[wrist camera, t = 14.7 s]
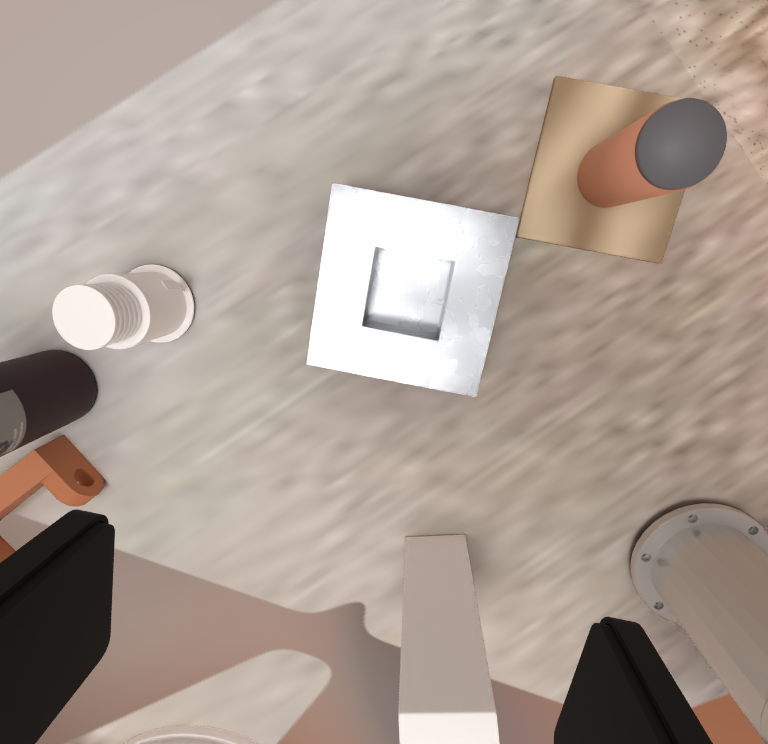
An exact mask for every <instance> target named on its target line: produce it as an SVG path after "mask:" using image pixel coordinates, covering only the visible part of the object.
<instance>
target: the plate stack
mask: <svg viewBox="0 0 768 744" xmlns="http://www.w3.org/2000/svg"><path fill="white" fill-rule="evenodd" d="M124 744H259V743H258V742H256V741H254V740H251V739H249V738H247V737H245V736H242V735H239V734H236V733H234V732H230V731H227V730H223V729H219V728H214V727H207V726H198V725H176V726H168V727H162V728H157V729H154V730H150V731H147V732H145V733H142V734H140V735H138V736H136V737H134V738H132V739H130V740H128V741H127V742H125V743H124Z"/></svg>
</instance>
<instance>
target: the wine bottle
mask: <svg viewBox="0 0 768 744" xmlns="http://www.w3.org/2000/svg"><path fill="white" fill-rule="evenodd" d="M96 392H97V390H96V383H95V379H94V377H93V375H92V373H91V371H90V370H89V368H88V367H87V365H86V364H85V363H84V362H83V361H81V360H80V359H79V358H77V357H76V356H74V355H72V354H70V353H67V352H63V351H51V350H50V351H43V352H39V353H35V354H31V355H28V356H24V357H20V358H16V359H12V360H8V361H4V362H1V363H0V457H1V456H3V455H5V454H7V453H9V452H11V451H13V450H16V449H18V448H20V447H22V446H24V445H26V444H28V443H30V442H32V441H34V440H36V439H38V438H40V437H42V436H44V435H46V434H48V433H51V432H53V431H55V430H57V429H59V428H61V427H63V426H65V425H67V424H69V423H71V422H73V421H75V420H77V419H79V418H81V417H82V416H84V415H85V414H86V413H87V412H88V411H89V410H90V409H91V407H92V406H93V404H94V402H95V399H96Z"/></svg>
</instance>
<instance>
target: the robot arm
mask: <svg viewBox="0 0 768 744" xmlns="http://www.w3.org/2000/svg"><path fill="white" fill-rule="evenodd" d="M114 539H115V529H114V526H113V525H110V524H108V519H107V517H106V516H105V515H101V514H97V513H92V512H87V511H82V510H72V511H70V512H68V513H67V514H65V515H64V516H63V517H61V518H60V519H59V520H57V521H56V522H55V523H53V524H52V525H51V526H49V527H48V528H47V529H45V530H44V531H42V532H41V533H40V534H38V535H37V536H36V537H34V538H33V539H32V540H30V541H29V542H28V543H26V544H25V545H24V546H22V547H21V548H20V549H18V550H17V551H16V552H14V553H13V554H11V555H10V556H9V557H7V558H6V559H5V560H3V561H2V562H1V563H0V744H35V743H36V742H37V741H38V739H39V738H40V737H41V736H42V734H43V733H44V732H45V730H46V729H47V728H48V727H49V725H50V724H51V723H52V721H53V720H54V719H55V718H56V716H57V715H58V714H59V712H60V711H61V710H62V709H63V707H64V706H65V704H66V703H67V702H68V701H69V700H70V698H71V697H72V696H73V694H74V693H75V692H76V691H77V689H78V688H79V687H80V685H81V684H82V683H83V682H84V680H85V679H86V678H87V677H88V675H89V674H90V673H91V671H92V670H93V669H94V668H95V666H96V665H97V664H98V662H99V661H100V660H101V658H102V657H103V655H104V653H105V651H106V649H107V647H108V644H109V641H110V633H111V610H112V608H111V607H112V586H113V562H114ZM630 567H631V577H632V581H633V584H634V586H635V588H636V590H637V592H638V594H639V595H640V597H641V598H642V600H643V601H644V602H645V604H646V605H647V606H648V607H649V608H650V609H651V610H652V611H654V612H655V613H657V614H658V615H660V616H661V617H663V618H665V619H668V620H670V621H673V622H676V623H680V625H681V626H682V627H683V629H684V630H685V632H686V633H687V634H688V636H689V637H690V639H691V640H692V641H693V643H694V644H695V646H696V647H697V648H698V650H699V651H700V653H701V654H702V655H703V657H704V658H705V660H706V661H707V662H708V664H709V665H710V667H711V668H712V669H713V671H714V672H715V674H716V675H717V676H718V678H719V679H720V681H721V682H722V683H723V685H724V686H725V688H726V689H727V690H728V692H729V693H730V695H731V696H732V697H733V699H734V700H735V701H736V703H737V704H738V706H739V707H740V709H741V710H742V711H743V713H744V714H745V715H746V717H747V718H748V720H749V721H750V723H751V724H752V725H753V727H754V728H755V730H756V731H757V732H758V734H759V735H760V737H761V738H762V739H763V741H764V742H765V744H768V533H767V532H766V531H765V529H764V528H763V527H762V526H761V525H760V524H759V523H757V522H756V521H755V520H754V519H753V518H751V517H750V516H748V515H747V514H745V513H744V512H742V511H740V510H738V509H735V508H732V507H730V506H725V505H720V504H707V503H702V504H695V505H688V506H685V507H682V508H679V509H675V510H673V511H671V512H669V513H667V514H665V515H663V516H662V517H661V518H659V519H658V520H656V521H655V522H654V523H652V524H651V525H650V526H649V527H648V528H647V529H646V530H645V531H644V533H643V534H642V536H641V537H640V538H639V540H638V541H637V543H636V546H635V548H634V550H633V553H632V558H631V563H630ZM554 744H713V743H712V742H711V740H710V738H709V737H708V735H707V733H706V732H705V730H704V728H703V727H702V725H701V723H700V722H699V720H698V719H697V717H696V715H695V714H694V712H693V710H692V709H691V707H690V705H689V704H688V702H687V700H686V699H685V697H684V695H683V694H682V692H681V691H680V689H679V687H678V686H677V684H676V682H675V681H674V679H673V677H672V676H671V674H670V672H669V671H668V669H667V667H666V666H665V664H664V662H663V661H662V659H661V658H660V656H659V654H658V653H657V651H656V649H655V648H654V646H653V644H652V643H651V641H650V639H649V638H648V636H647V634H646V633H645V631H644V630H643V628H642V627H641V626H640V624H638V623H636V622H631V621H626V620H621V619H616V618H611V617H604V618H603V619H602V620H601V622H600V623H594V624H593V625H592V627H591V629H590V631H589V634H588V637H587V640H586V643H585V646H584V648H583V651H582V654H581V657H580V660H579V663H578V665H577V668H576V671H575V674H574V677H573V680H572V682H571V685H570V688H569V691H568V694H567V697H566V699H565V702H564V705H563V708H562V711H561V714H560V717H559V719H558V722H557V725H556V728H555V732H554Z"/></svg>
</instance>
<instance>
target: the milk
mask: <svg viewBox="0 0 768 744" xmlns="http://www.w3.org/2000/svg"><path fill="white" fill-rule="evenodd" d="M400 665H401V666H400V690H399V736H400V744H499V735H498V725H497V715H496V709H495V703H494V697H493V692H492V686H491V680H490V674H489V668H488V663H487V657H486V651H485V646H484V640H483V634H482V628H481V623H480V617H479V611H478V605H477V600H476V594H475V588H474V583H473V577H472V571H471V565H470V560H469V554H468V548H467V542H466V537H465V535H440V536H418V537H406V538H405V559H404V586H403V612H402V638H401V664H400Z"/></svg>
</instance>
